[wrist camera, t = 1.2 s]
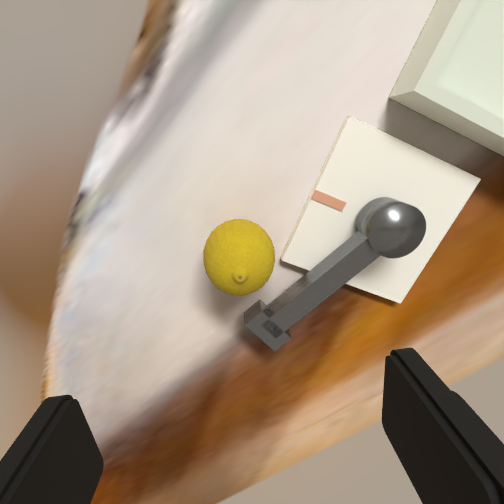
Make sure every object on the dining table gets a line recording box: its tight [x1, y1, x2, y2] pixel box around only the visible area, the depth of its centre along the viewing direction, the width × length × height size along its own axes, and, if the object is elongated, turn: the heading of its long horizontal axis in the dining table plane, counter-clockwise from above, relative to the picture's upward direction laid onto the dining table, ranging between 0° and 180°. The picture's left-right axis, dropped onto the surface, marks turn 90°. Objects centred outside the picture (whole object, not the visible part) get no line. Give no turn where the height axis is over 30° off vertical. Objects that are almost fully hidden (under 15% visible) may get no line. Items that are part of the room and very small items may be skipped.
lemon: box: [204, 219, 275, 295], centre depth 23 cm, size 6×6×8 cm
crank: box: [244, 197, 426, 351], centre depth 26 cm, size 17×4×3 cm, turn 133°
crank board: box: [281, 116, 481, 304], centre depth 27 cm, size 13×13×1 cm
